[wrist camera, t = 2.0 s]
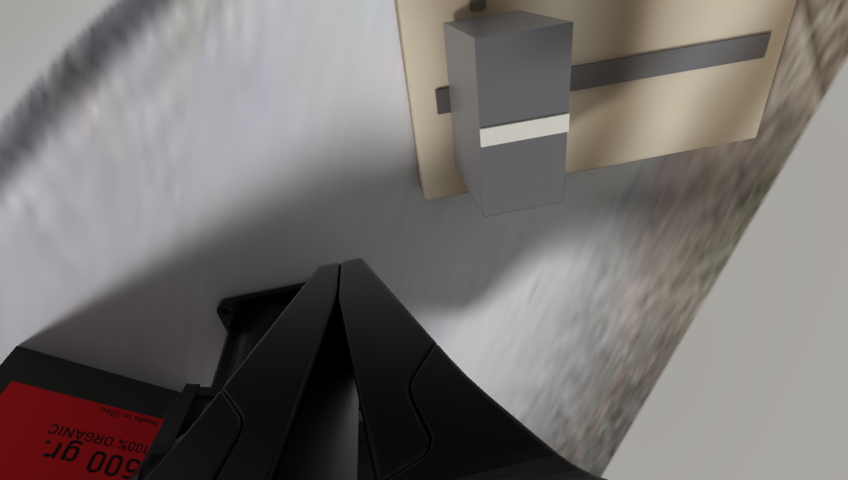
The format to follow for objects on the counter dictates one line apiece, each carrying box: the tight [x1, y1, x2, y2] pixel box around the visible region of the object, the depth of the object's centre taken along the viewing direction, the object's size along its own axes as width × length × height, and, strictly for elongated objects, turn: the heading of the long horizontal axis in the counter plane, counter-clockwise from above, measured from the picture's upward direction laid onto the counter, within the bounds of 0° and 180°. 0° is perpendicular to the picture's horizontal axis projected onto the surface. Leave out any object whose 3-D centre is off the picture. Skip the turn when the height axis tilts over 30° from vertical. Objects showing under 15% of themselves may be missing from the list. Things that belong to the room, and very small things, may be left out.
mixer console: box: [394, 0, 797, 200], centre depth 19 cm, size 17×9×2 cm, turn 97°
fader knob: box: [443, 10, 573, 217], centre depth 16 cm, size 3×6×5 cm, turn 7°
